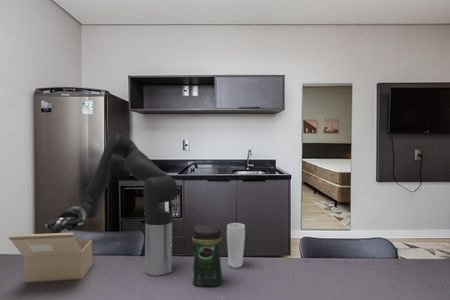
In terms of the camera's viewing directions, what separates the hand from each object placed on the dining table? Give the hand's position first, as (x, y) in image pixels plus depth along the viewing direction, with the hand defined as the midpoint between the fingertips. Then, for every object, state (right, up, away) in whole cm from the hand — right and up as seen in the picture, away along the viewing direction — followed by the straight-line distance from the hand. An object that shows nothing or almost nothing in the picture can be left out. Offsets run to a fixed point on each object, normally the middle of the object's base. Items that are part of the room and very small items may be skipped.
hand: (54, 231), depth 92 cm
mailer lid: (+1, -3, -5) cm, 6 cm away
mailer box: (-1, -16, +5) cm, 17 cm away
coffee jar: (+50, -17, 0) cm, 52 cm away
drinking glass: (+60, -17, +13) cm, 63 cm away
